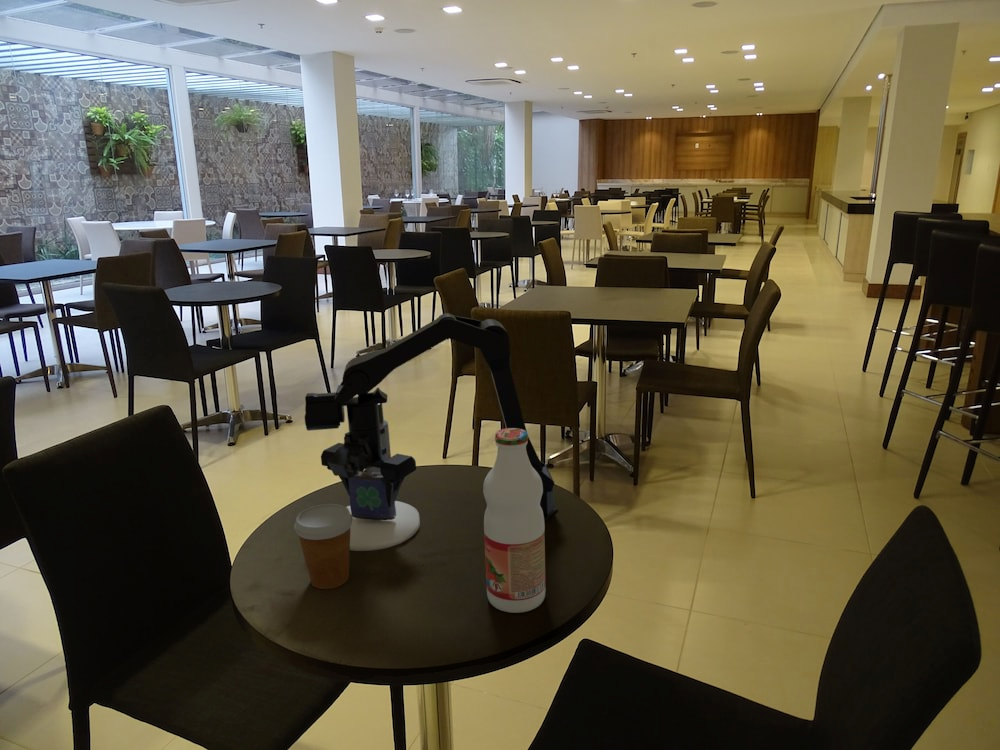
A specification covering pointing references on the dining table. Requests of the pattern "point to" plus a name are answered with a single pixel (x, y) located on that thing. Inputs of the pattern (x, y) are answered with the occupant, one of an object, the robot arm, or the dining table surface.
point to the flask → (369, 496)
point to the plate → (384, 529)
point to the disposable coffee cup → (325, 543)
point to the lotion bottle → (383, 437)
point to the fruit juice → (514, 527)
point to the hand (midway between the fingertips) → (371, 502)
